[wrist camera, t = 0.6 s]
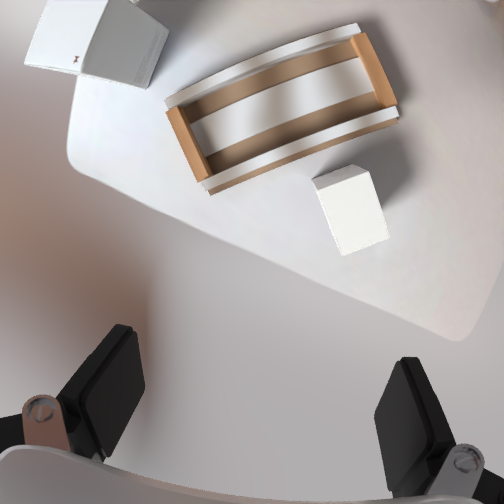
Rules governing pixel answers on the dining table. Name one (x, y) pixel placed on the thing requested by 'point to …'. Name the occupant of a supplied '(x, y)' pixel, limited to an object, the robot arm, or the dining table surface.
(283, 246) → the dining table surface
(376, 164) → the dining table surface
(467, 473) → the robot arm
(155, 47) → the supplement box
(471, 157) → the dining table surface
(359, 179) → the block
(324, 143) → the rail board
